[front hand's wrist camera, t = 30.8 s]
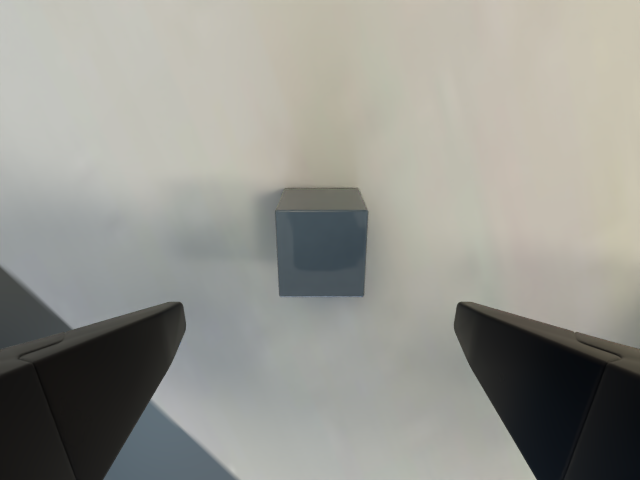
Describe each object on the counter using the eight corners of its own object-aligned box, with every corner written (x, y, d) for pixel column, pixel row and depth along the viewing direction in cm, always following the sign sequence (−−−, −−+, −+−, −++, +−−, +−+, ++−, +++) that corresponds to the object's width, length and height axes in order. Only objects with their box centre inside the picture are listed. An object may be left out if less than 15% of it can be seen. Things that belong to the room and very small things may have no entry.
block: (283, 188, 19) (274, 210, 15) (359, 188, 19) (368, 210, 15) (286, 261, 21) (279, 297, 17) (356, 260, 21) (364, 297, 17)
